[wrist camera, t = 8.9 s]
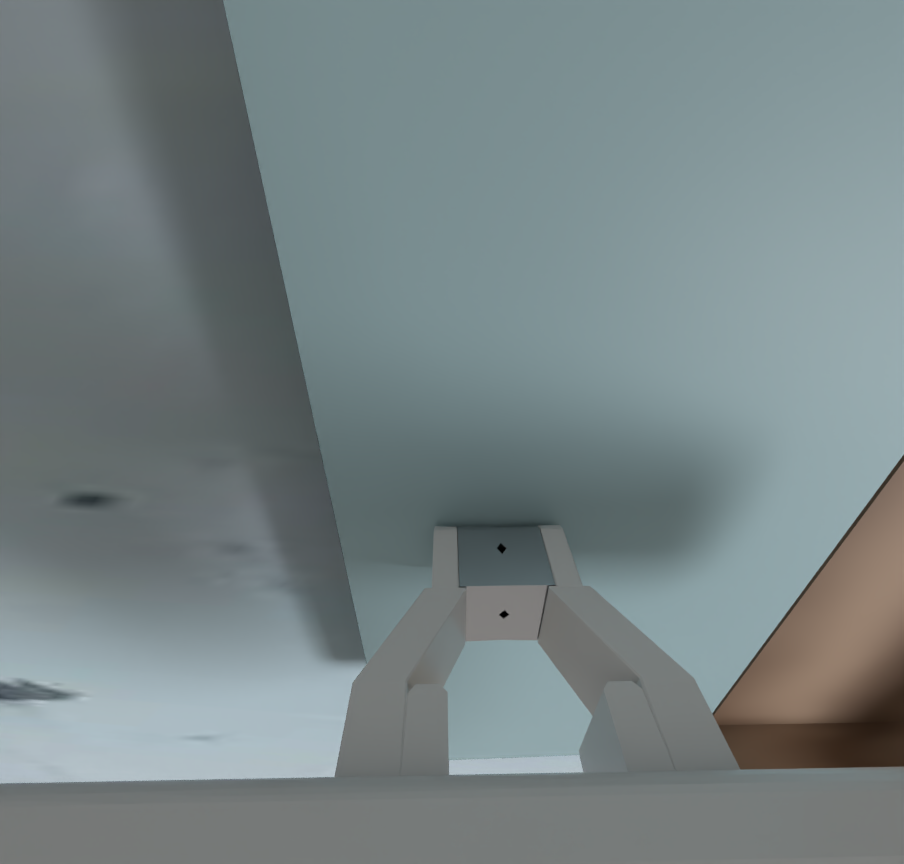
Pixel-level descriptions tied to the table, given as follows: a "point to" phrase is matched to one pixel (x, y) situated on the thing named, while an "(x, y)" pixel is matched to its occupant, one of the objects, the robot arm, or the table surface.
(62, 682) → the table surface
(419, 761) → the robot arm
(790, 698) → the brown long open box
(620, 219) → the drawer face panel
